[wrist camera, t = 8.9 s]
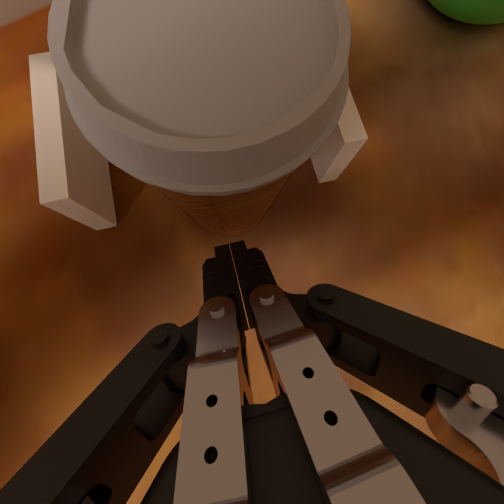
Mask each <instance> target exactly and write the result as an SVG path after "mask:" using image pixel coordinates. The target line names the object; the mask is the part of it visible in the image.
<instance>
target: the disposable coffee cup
mask: <svg viewBox="0 0 504 504" xmlns="http://www.w3.org/2000/svg"><path fill="white" fill-rule="evenodd" d="M47 40H48V45H49V50H50V55H51V59H52V62H53V64H54V67H55V69H56V71H57V74H58V76H59V78H60V80H61V82H62V84H63V86H64V92H65V97H66V102H67V104H68V107H69V109H70V112H71V114H72V117H73V119H74V121H75V122H76V124H77V126H78V127H79V129H80V130H81V132H82V134H83V135H84V137H85V138H86V140H87V141H88V142H89V143H90V144H91V145H92V146H93V147H94V148H96V149H97V150H98V151H99V152H100V153H101V154H102V155H103V156H104V157H105V158H106V159H107V160H108V161H109V162H111V163H112V164H113V165H115V166H117V167H118V168H120V169H121V170H123V171H125V172H126V173H128V174H130V175H132V176H133V177H135V178H137V179H139V180H140V181H142V182H144V183H147V184H150V185H154V186H156V187H157V188H158V189H159V190H160V191H162V193H163V194H164V195H166V196H167V197H168V198H169V199H170V200H172V201H173V202H174V203H175V204H176V205H177V206H179V207H180V208H181V209H182V210H183V211H184V212H186V213H187V214H188V215H189V216H190V217H191V218H193V219H194V220H195V221H196V222H197V223H198V224H199V225H200V226H201V227H203V228H204V229H206V230H207V231H209V232H212V233H214V234H217V235H222V236H233V235H239V234H242V233H244V232H247V231H249V230H250V229H252V228H253V227H255V226H256V225H257V224H258V223H259V222H260V220H261V219H262V218H263V216H264V214H265V213H266V211H267V210H268V208H269V207H270V205H271V204H272V202H273V201H274V199H275V198H276V196H277V195H278V193H279V192H280V190H281V189H282V187H283V186H284V185H285V183H286V182H287V180H288V178H289V177H290V175H291V174H292V172H293V171H294V170H296V169H297V168H298V167H299V166H300V165H302V164H303V163H304V162H305V161H306V160H308V159H309V158H310V157H311V156H312V155H314V154H315V153H316V152H317V151H318V150H319V149H320V147H321V146H322V145H323V143H324V142H325V141H326V140H327V138H328V137H329V136H330V134H331V132H332V131H333V129H334V127H335V126H336V124H337V123H338V121H339V119H340V116H341V114H342V111H343V108H344V105H345V103H346V98H347V94H348V84H349V69H348V58H349V53H350V48H351V23H350V17H349V12H348V8H347V5H346V3H345V0H53V2H52V5H51V8H50V12H49V15H48V35H47Z"/></svg>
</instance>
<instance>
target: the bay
mask: <svg viewBox="0 0 504 504" xmlns="http://www.w3.org/2000/svg"><path fill="white" fill-rule="evenodd" d="M29 68H30V81H31V94H32V108H33V121H34V134H35V147H36V161H37V174H38V187H39V200H40V204H41V205H44V206H46V207H48V208H50V209H52V210H54V211H56V212H58V213H61V214H63V215H65V216H67V217H69V218H71V219H73V220H75V221H78V222H80V223H82V224H84V225H86V226H88V227H90V228H92V229H95V230H101V229H106V228H111V227H115V226H117V222H116V215H115V207H114V200H113V193H112V186H111V179H110V171H109V164H108V160H107V159H106V158H105V157H104V156H103V155H102V154H101V153H100V152H99V151H98V150H97V149H96V148H94V147H93V146H92V145H91V144H90V143H89V142H88V141H87V140H86V138H85V137H84V135H83V134H82V132H81V130H80V129H79V127H78V126H77V124H76V122H75V121H74V119H73V117H72V114H71V112H70V109H69V107H68V104H67V102H66V97H65V92H64V86H63V84H62V82H61V80H60V78H59V76H58V74H57V71H56V69H55V67H54V64H53V62H52V59H51V55H50V52H46V53H39V54H32V55H29ZM367 140H368V136H367V134H366V131H365V129H364V126H363V123H362V121H361V118H360V115H359V113H358V110H357V107H356V105H355V102H354V99H353V97H352V94H351V91H350V89H349V86H348V94H347V98H346V103H345V105H344V108H343V111H342V114H341V116H340V119H339V121H338V123H337V124H336V126H335V127H334V129H333V131H332V132H331V134H330V136H329V137H328V138H327V140H326V141H325V142H324V143H323V145H322V146H321V147H320V149H319V150H318V151H317V152H316V153H315V154H314V155H312V156H311V157H310V158H311V161H312V164H313V167H314V171H315V174H316V177H317V180H318V183H324V182H328V181H333V180H336V179H337V178H338V177H339V176H340V174H341V173H342V172H343V170H344V169H345V168H346V167H347V165H348V164H349V163H350V161H351V160H352V159H353V158H354V156H355V155H356V154H357V152H358V151H359V150H360V149H361V147H362V146H363V145H364V143H365V142H366V141H367Z"/></svg>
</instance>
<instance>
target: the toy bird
mask: <svg viewBox="0 0 504 504" xmlns="http://www.w3.org/2000/svg"><path fill="white" fill-rule="evenodd" d="M428 1H429V2H430V3H431V4H432V5H433V6H434V7H435V8H436V9H437V10H439V11H440V12H441V13H443V14H445V15H446V16H448V17H450V18H453V19H455V20H458V21H461V22H465V23H470V24H481V25H488V24H499V23H504V0H428Z"/></svg>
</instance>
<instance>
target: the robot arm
mask: <svg viewBox="0 0 504 504" xmlns="http://www.w3.org/2000/svg"><path fill="white" fill-rule="evenodd" d="M230 246H231V251H232V255H233V259H234V263H235V267H236V272H237V276H238V280H239V284H240V288H241V292H242V297H243V301H244V305H245V309H246V313H247V317H248V322H249V326H250V329H253V328H255V331H256V335H257V339H258V343H259V347H260V349H261V352H262V355H263V358H264V361H265V364H266V367H267V369H268V372H269V375H270V378H271V381H272V384H273V387H274V390H275V393H276V398H274V399H273V400H271V401H270V402H268V403H266V404H254V400H253V395H252V388H251V380H250V371H249V363H248V355H247V347H246V337H245V332H244V331H246V330H249V328H248V324H247V320H246V315H245V311H244V307H243V302H242V298H241V294H240V289H239V285H238V281H237V276H236V272H235V268H234V264H233V260H232V256H231V252H230V248H229V244H226V245H222V246H217V247H215V255H216V257H214V258H210V259H206V261H205V263H204V265H203V266H202V267H203V292H204V304H203V305H202V306H201V308H200V310H199V315H198V316H197V317H196V318H195V319H194V320H192V321H191V322H189V323H187V324H185V325H184V326H182V327H180V328H179V327H178V326H177V325H175V324H172V323H165V324H161V325H158V326H156V327H155V328H153V329H152V330H150V331H149V332H148V333H147V334H146V335H145V336H144V337H143V338H142V339H141V340H140V342H139V343H138V344H137V345H136V346H135V347H134V348H133V349H132V350H131V351H130V352H129V353H128V354H127V355H126V356H125V358H124V359H123V360H122V361H121V362H120V363H119V364H118V365H117V366H116V367H115V368H114V369H113V370H112V371H111V373H110V374H109V375H108V376H107V377H106V378H105V379H104V380H103V381H102V382H101V383H100V384H99V385H98V386H97V387H96V389H95V390H94V391H93V392H92V393H91V394H90V395H89V396H88V397H87V398H86V399H85V400H84V401H83V402H82V404H81V405H80V406H79V407H78V408H77V409H76V410H75V411H74V412H73V413H72V414H71V415H70V416H69V417H68V418H67V420H66V421H65V422H64V423H63V424H62V425H61V426H60V427H59V428H58V429H57V430H56V431H55V432H54V433H53V434H52V436H51V437H50V438H49V439H48V440H47V441H46V442H45V443H44V444H43V445H42V446H41V447H40V448H39V449H38V451H37V452H36V453H35V454H34V455H33V456H32V457H31V458H30V459H29V460H28V461H27V462H26V463H25V464H24V465H23V467H22V468H21V469H20V470H19V471H18V472H17V473H16V474H15V475H14V476H13V477H12V478H11V479H10V480H9V481H8V483H7V484H6V485H5V486H4V487H3V488H2V489H1V490H0V504H126V502H127V501H128V499H129V498H130V496H131V494H132V493H133V491H134V490H135V488H136V486H137V485H138V483H139V482H140V480H141V478H142V477H143V475H144V474H145V472H146V470H147V469H148V467H149V466H150V464H151V462H152V461H153V459H154V457H155V456H156V454H157V453H158V451H159V449H160V448H161V446H162V445H163V443H164V441H165V440H166V438H167V437H168V435H169V433H170V432H171V430H172V429H173V427H174V425H175V424H176V422H177V421H178V419H179V417H180V416H181V414H182V413H183V417H182V426H181V435H180V441H179V442H178V443H177V444H176V445H175V447H174V448H173V449H172V450H171V452H170V453H169V455H168V456H167V458H166V459H165V461H164V462H163V464H162V466H161V468H160V469H159V471H158V473H157V475H156V477H155V478H154V480H153V482H152V484H151V486H150V487H149V489H148V491H147V493H146V495H145V496H144V498H143V500H142V502H141V503H140V504H504V349H502V348H499V347H497V346H494V345H491V344H489V343H486V342H483V341H481V340H478V339H475V338H473V337H470V336H467V335H465V334H462V333H459V332H457V331H454V330H451V329H449V328H446V327H443V326H441V325H438V324H435V323H433V322H430V321H427V320H425V319H422V318H419V317H417V316H414V315H411V314H409V313H406V312H403V311H401V310H398V309H396V308H393V307H390V306H388V305H385V304H382V303H380V302H377V301H374V300H372V299H369V298H366V297H364V296H361V295H358V294H356V293H353V292H350V291H348V290H345V289H342V288H340V287H337V286H334V285H331V284H318V285H315V286H313V287H312V288H310V289H309V291H308V293H307V294H290V293H287V292H284V291H283V290H282V289H281V288H280V287H278V285H277V284H276V281H275V279H274V277H273V275H272V272H271V270H270V268H269V265H268V263H267V261H266V259H265V256H264V254H263V252H262V251H261V250H259V249H258V248H256V247H255V248H251V249H247V248H246V245H245V243H244V240H243V241H239V242H234V243H230ZM334 365H336V366H337V367H339V368H341V369H343V370H344V371H346V372H348V373H349V374H351V375H353V376H355V377H356V378H358V379H360V380H361V381H363V382H365V383H366V384H368V385H370V386H372V387H373V388H375V389H377V390H378V391H380V392H382V393H384V394H385V395H387V396H389V397H390V398H392V399H394V400H396V401H397V402H399V403H401V404H402V405H404V406H406V407H407V408H409V409H411V410H413V411H414V412H416V413H418V414H419V415H421V416H423V417H425V418H426V422H427V424H428V427H429V429H430V430H431V432H432V433H433V435H434V436H435V437H436V439H437V440H438V442H439V443H438V442H437V441H435V440H433V439H432V438H430V437H429V436H427V435H426V434H424V433H423V432H421V431H420V430H418V429H417V428H415V427H414V426H412V425H411V424H409V423H407V422H406V421H404V420H403V419H401V418H400V417H398V416H397V415H395V414H394V413H392V412H391V411H389V410H388V409H386V408H385V407H383V406H382V405H380V404H378V403H377V402H375V401H374V400H372V399H371V398H369V397H367V396H365V395H363V394H361V393H359V392H357V391H354V390H352V389H349V388H348V387H347V385H346V383H345V382H344V380H343V379H342V377H341V375H340V374H339V372H338V370H337V369H336V367H335V366H334ZM447 448H448V449H447Z"/></svg>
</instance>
